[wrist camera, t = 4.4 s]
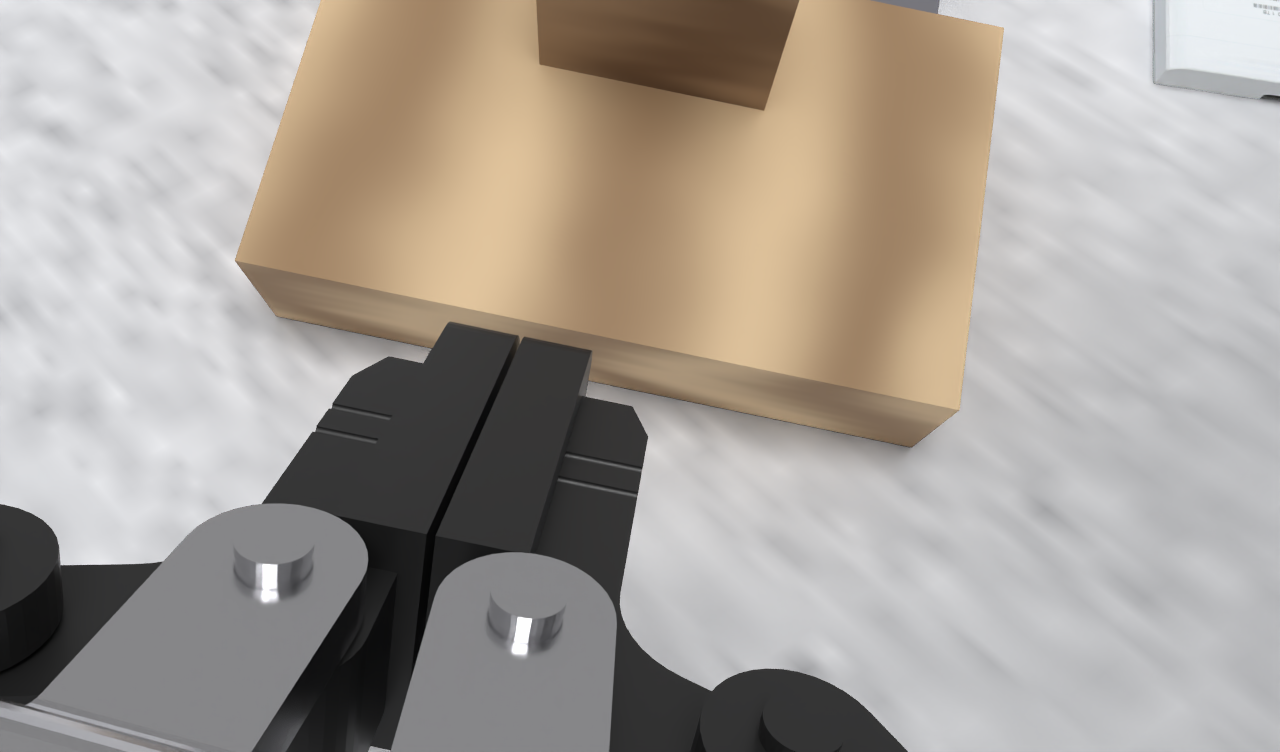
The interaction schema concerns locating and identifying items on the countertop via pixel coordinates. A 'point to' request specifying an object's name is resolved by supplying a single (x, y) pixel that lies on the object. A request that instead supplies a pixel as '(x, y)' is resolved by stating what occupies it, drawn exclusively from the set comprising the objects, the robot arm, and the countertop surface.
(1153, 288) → the countertop surface
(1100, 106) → the countertop surface
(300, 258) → the wooden block
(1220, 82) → the external hard drive
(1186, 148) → the countertop surface
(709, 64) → the brown wood brick
